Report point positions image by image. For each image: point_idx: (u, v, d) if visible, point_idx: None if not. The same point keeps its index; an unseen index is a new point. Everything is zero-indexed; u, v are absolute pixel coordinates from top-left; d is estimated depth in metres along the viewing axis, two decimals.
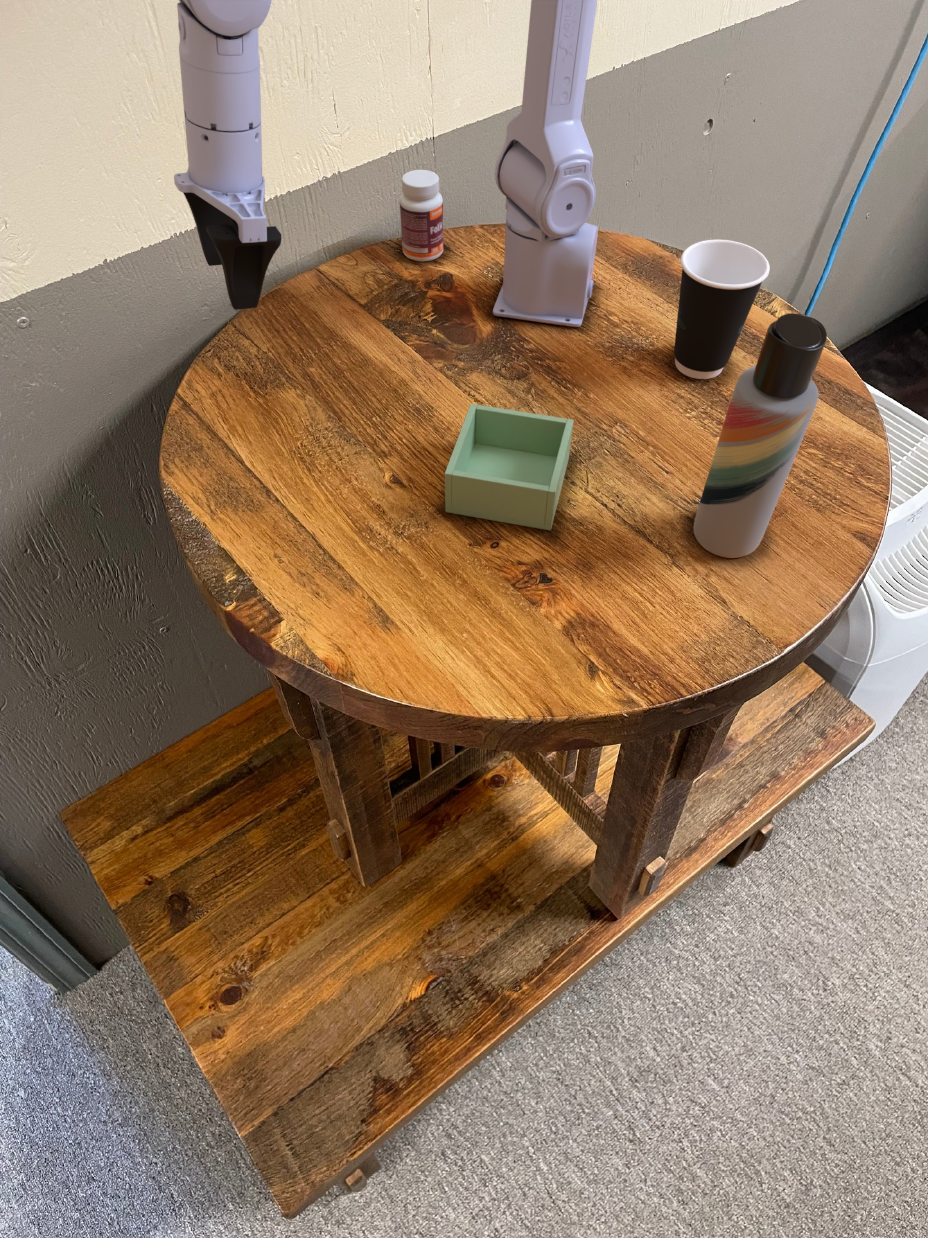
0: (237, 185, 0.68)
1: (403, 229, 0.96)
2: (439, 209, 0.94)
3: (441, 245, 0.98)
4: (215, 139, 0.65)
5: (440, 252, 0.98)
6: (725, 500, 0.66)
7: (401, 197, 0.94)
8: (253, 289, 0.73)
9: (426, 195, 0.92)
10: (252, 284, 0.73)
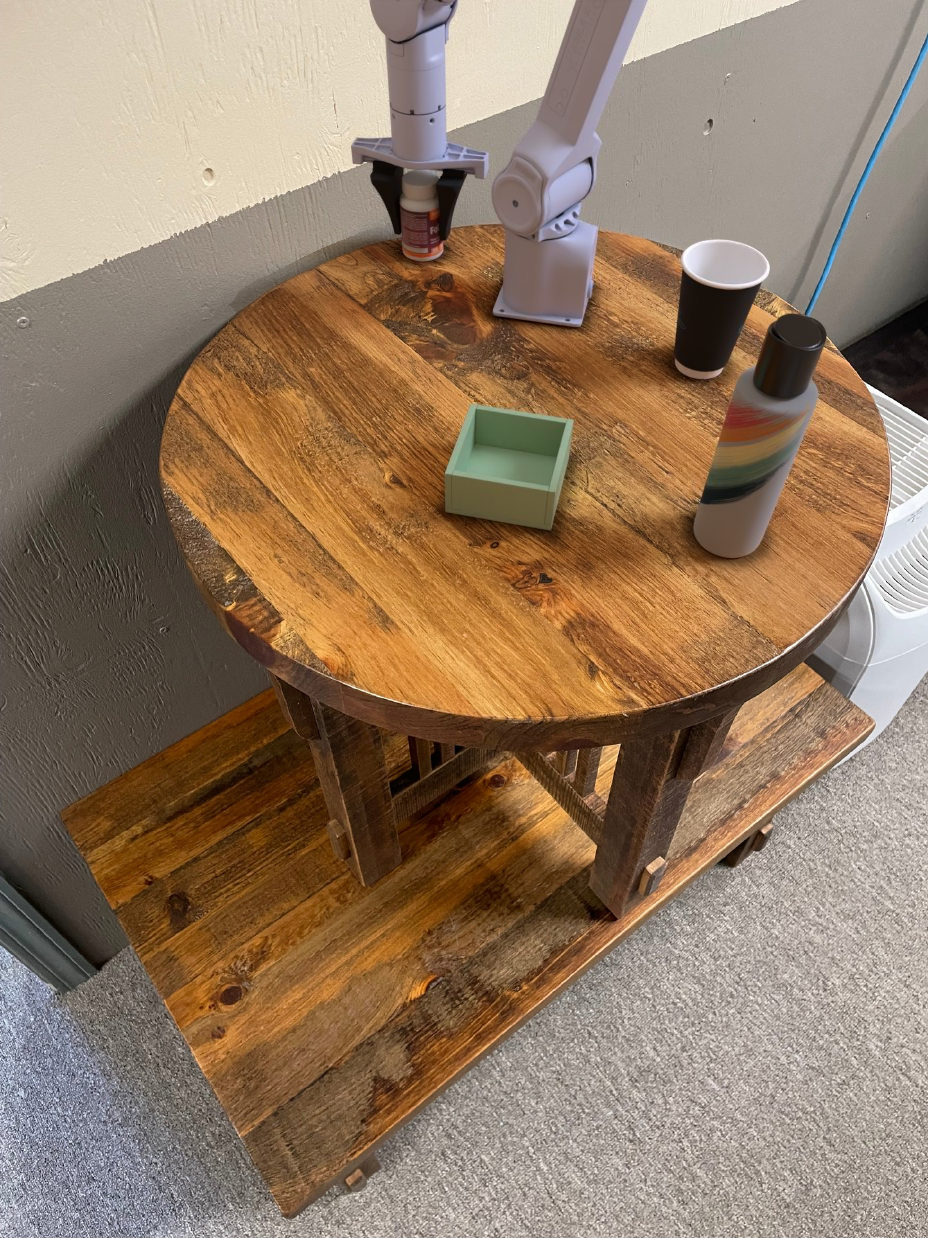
0: None
1: (403, 229, 0.96)
2: None
3: (441, 245, 0.98)
4: None
5: (440, 252, 0.98)
6: (725, 500, 0.66)
7: (401, 197, 0.94)
8: None
9: (426, 195, 0.92)
10: None
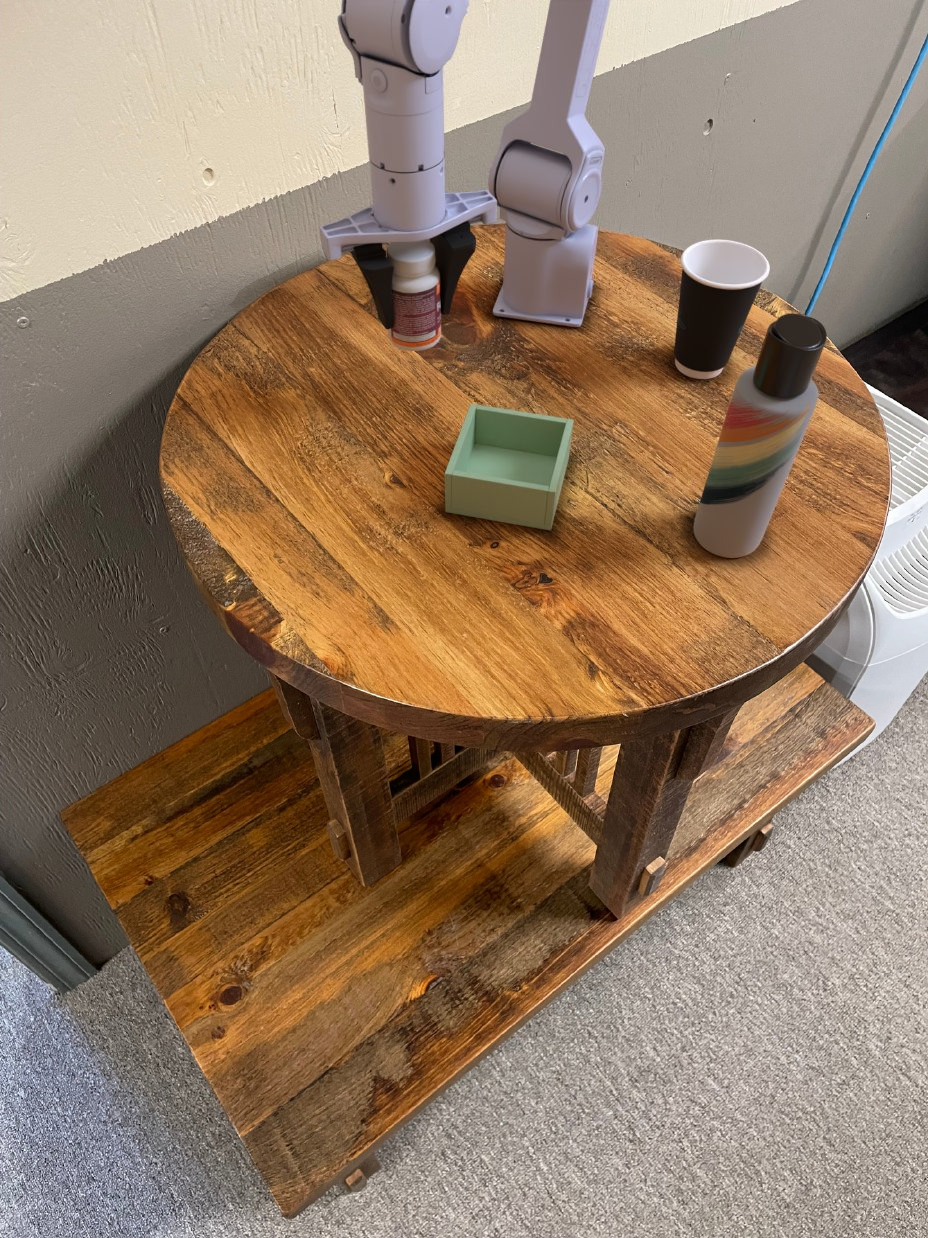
0: (375, 213, 0.67)
1: (401, 319, 0.74)
2: None
3: None
4: None
5: None
6: (725, 500, 0.66)
7: (392, 281, 0.72)
8: (381, 309, 0.73)
9: (431, 266, 0.71)
10: (381, 304, 0.73)
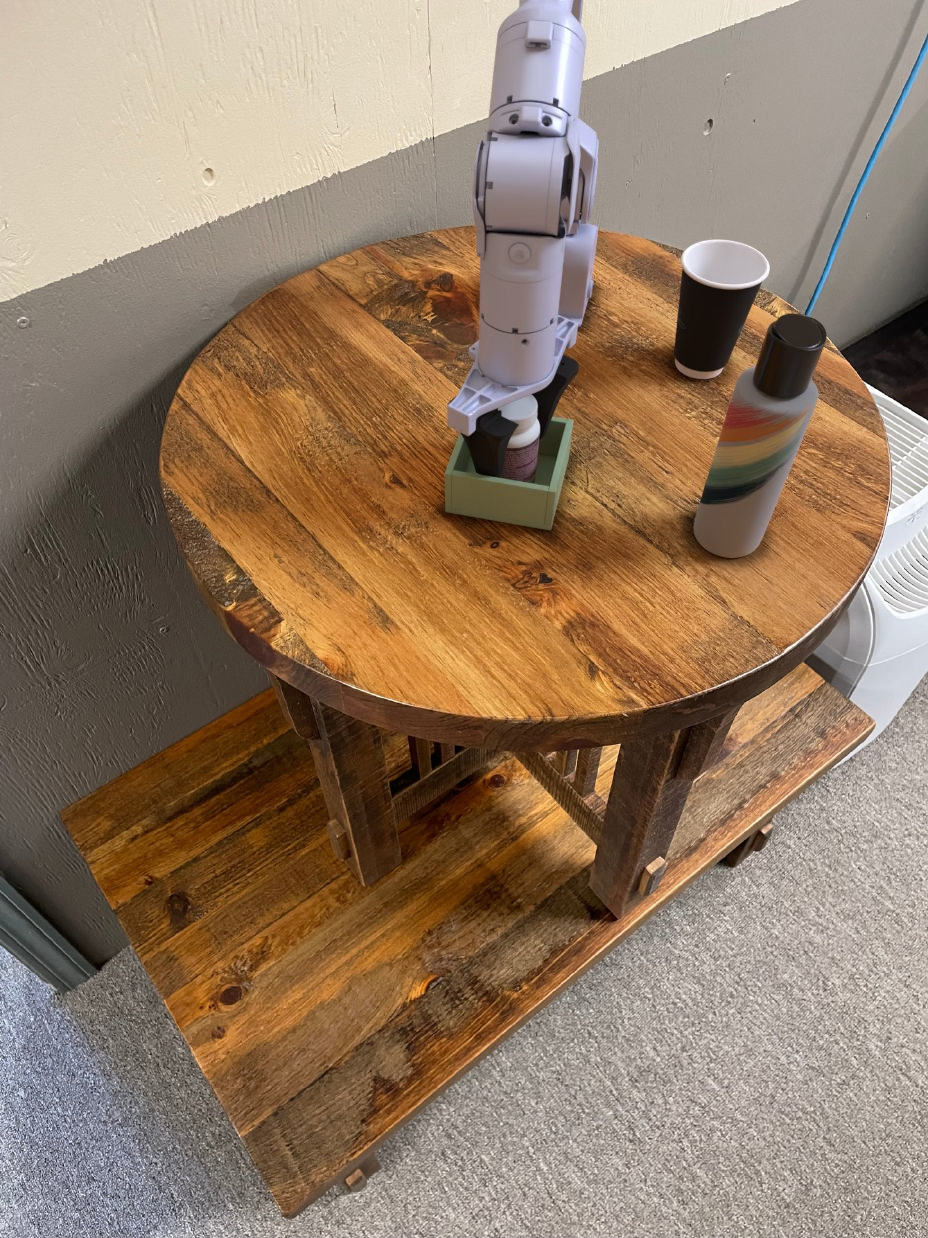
0: (494, 375, 0.64)
1: (513, 471, 0.72)
2: None
3: None
4: (482, 327, 0.62)
5: None
6: (725, 500, 0.66)
7: None
8: (490, 465, 0.70)
9: None
10: (490, 460, 0.69)
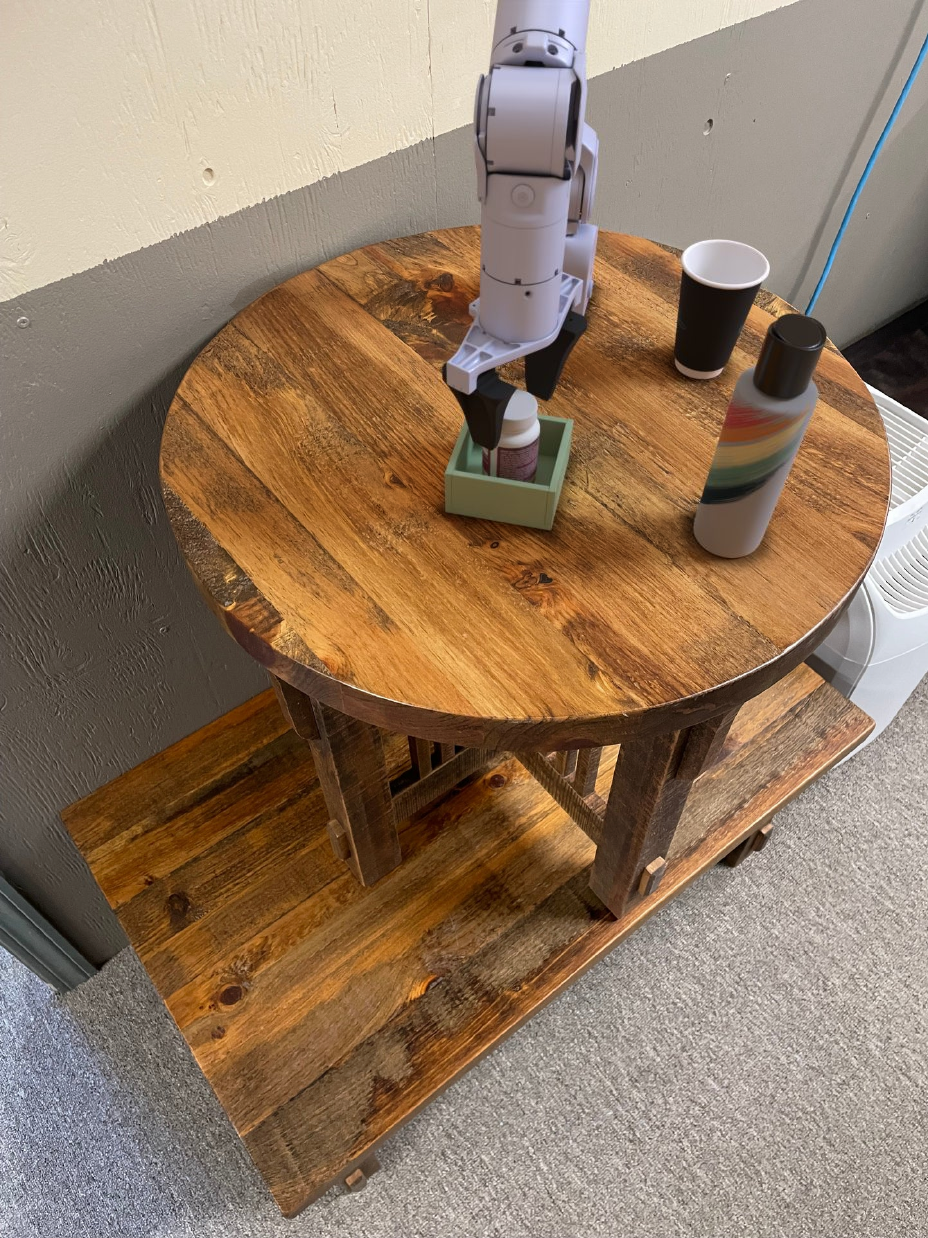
0: (496, 331, 0.61)
1: (513, 471, 0.72)
2: None
3: None
4: (483, 279, 0.59)
5: None
6: (725, 500, 0.66)
7: (504, 440, 0.69)
8: (487, 432, 0.67)
9: None
10: (487, 427, 0.66)
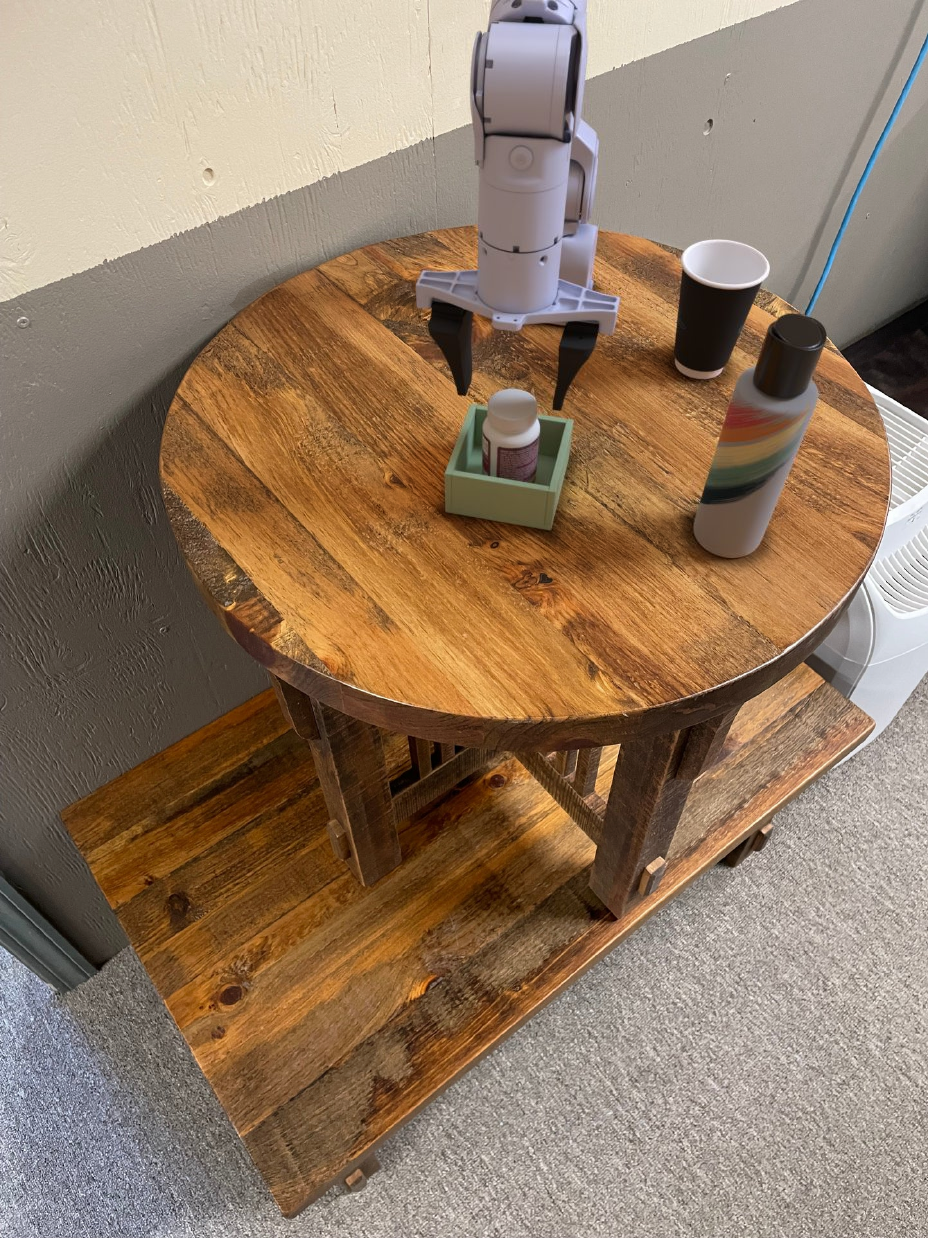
0: (557, 288, 0.61)
1: (513, 471, 0.72)
2: None
3: None
4: (553, 254, 0.57)
5: None
6: (725, 500, 0.66)
7: (504, 440, 0.69)
8: None
9: None
10: None
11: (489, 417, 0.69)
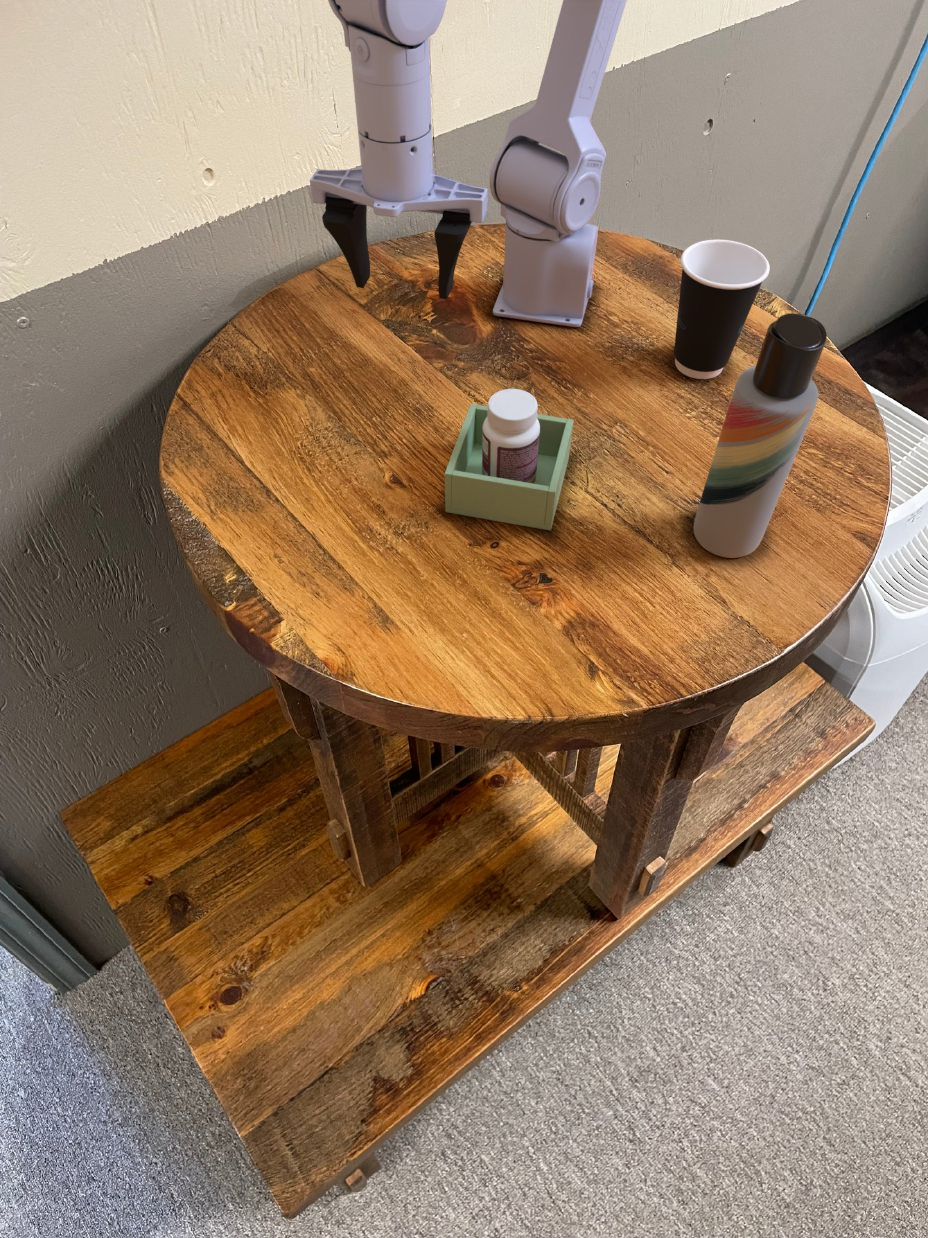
0: (432, 180, 0.69)
1: (513, 471, 0.72)
2: None
3: None
4: (422, 145, 0.66)
5: None
6: (725, 500, 0.66)
7: (504, 440, 0.69)
8: (452, 271, 0.76)
9: None
10: (452, 266, 0.75)
11: (489, 417, 0.69)
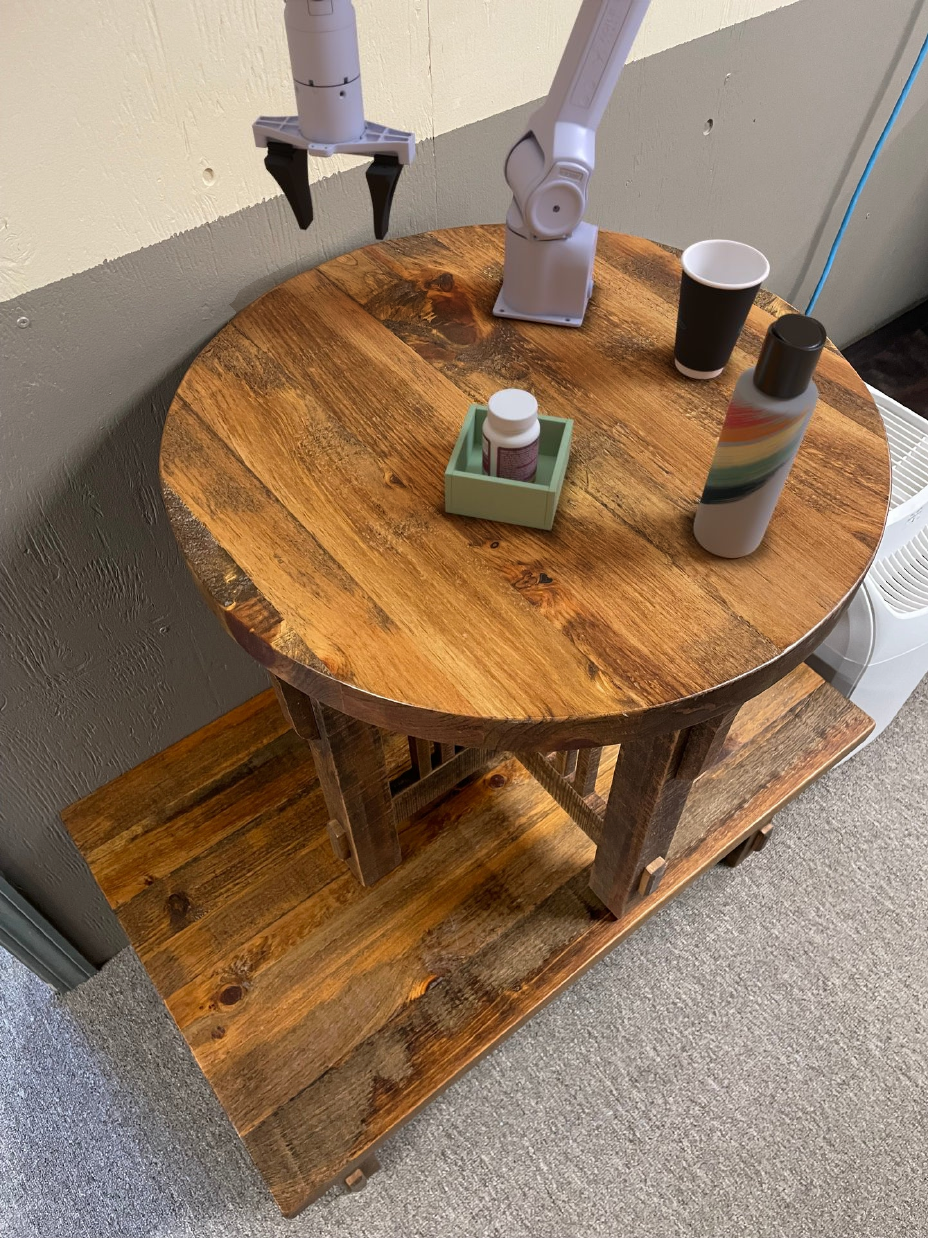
0: (363, 125, 0.75)
1: (513, 471, 0.72)
2: None
3: None
4: (350, 90, 0.72)
5: None
6: (725, 500, 0.66)
7: (504, 440, 0.69)
8: (387, 213, 0.82)
9: None
10: (387, 209, 0.81)
11: (489, 417, 0.69)
